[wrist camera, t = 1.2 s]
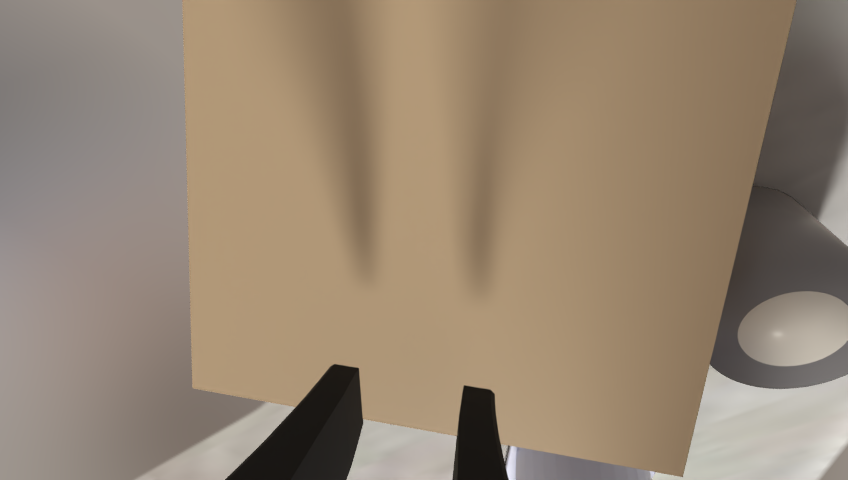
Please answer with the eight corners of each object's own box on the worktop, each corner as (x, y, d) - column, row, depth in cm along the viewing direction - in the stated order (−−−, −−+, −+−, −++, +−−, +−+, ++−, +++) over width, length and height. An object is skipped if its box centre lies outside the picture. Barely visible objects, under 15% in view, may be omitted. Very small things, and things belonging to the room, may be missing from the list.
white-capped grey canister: (775, 304, 19) (846, 401, 15) (645, 288, 20) (677, 375, 16) (837, 193, 16) (945, 273, 12) (683, 179, 17) (734, 250, 13)
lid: (674, 461, 13) (682, 477, 12) (204, 378, 15) (192, 388, 14) (799, -76, 10) (818, -90, 9) (195, -85, 12) (180, -97, 11)
